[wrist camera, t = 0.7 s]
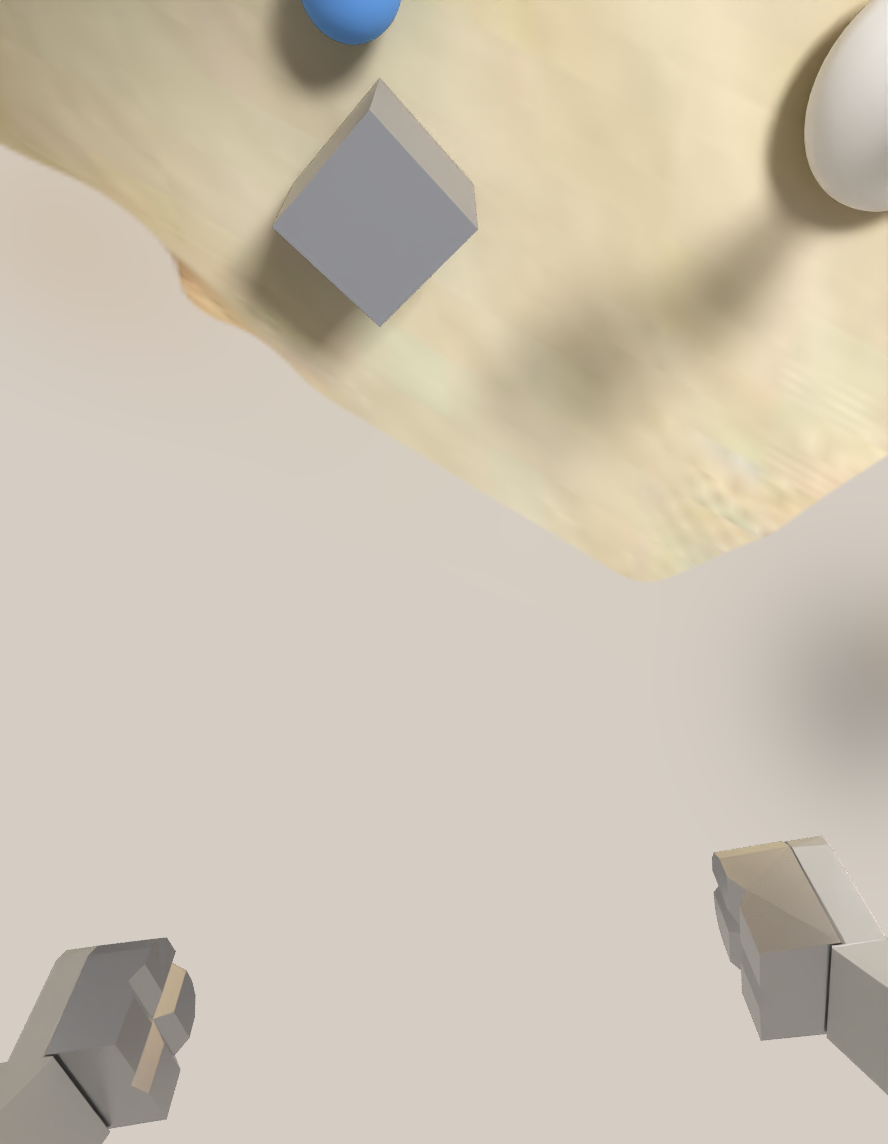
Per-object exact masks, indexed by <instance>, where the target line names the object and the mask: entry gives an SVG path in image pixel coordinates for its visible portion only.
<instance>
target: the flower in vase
mask: <svg viewBox="0 0 888 1144" xmlns="http://www.w3.org/2000/svg"><path fill="white" fill-rule="evenodd" d="M804 142H805V149H806V156H807V159H808V163H809V166H810V169H811V171H812V173H813V175H814V177H815V179H816V181H817V182H818V183H819V185H820V186H821V188H822V189H823V190H824V191H825V192H826V193H827V194H828V195H829V196H830V197H832V198H833V199H835V200H836V201H838V202H839V203H841V204H843V205H846V206H848V207H850V208H854V209H858V210H862V211H872V212H880V211H888V0H872V1H870V2H869V3H868V4H867V5H866V6H865V7H864V8H863V9H862V10H861V11H860V12H859V13H858V14H857V15H856V16H855V18H854V19H853V20H852V21H851V22H850V23H849V25H848V26H847V27H846V28H845V29H844V31H843V32H842V33H841V35H840V36H839V38H838V39H837V40H836V42H835V43H834V45H833V46H832V48H831V50H830V52H829V53H828V55H827V57H826V58H825V60H824V62H823V64H822V66H821V68H820V71H819V73H818V75H817V77H816V80H815V82H814V85H813V88H812V91H811V94H810V98H809V102H808V106H807V110H806V118H805V126H804Z"/></svg>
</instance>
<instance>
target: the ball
mask: <svg viewBox="0 0 888 1144" xmlns="http://www.w3.org/2000/svg"><path fill="white" fill-rule="evenodd" d="M301 1H302V4H303V6H304V8H305V10H306V12H307V14H308V16H309V17H310V19H311V20H312V22H313V23H314V24H315V26H316V27H317V28H318V29H319V30H320V31H321V32H323V33H324V34H325V35H326V36H328V37H330V38H331V39H333V40H335V41H338V42H340V43H344V44H351V45H356V44H363V43H367V42H369V41H372V40H373V39H375V38H377V37H378V36H380V35H381V34H382V33H383V32H384V31H385V30H386V29H387V28H388V27H389V26H390V24H391V23H392V21H393V20H394V18H395V16H396V14H397V11H398V8H399V6H400V2H401V0H301Z"/></svg>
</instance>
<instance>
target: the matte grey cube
mask: <svg viewBox="0 0 888 1144" xmlns="http://www.w3.org/2000/svg"><path fill="white" fill-rule="evenodd" d="M272 228H273V229H274V230H276V231H277V232H278V233H279V234H280V235H281V236H282V237H283V238H284V239H285V240H286V241H287V242H288V243H290V244H291V245H292V246H293V247H294V248H295V249H296V250H297V251H298V252H299V253H300V254H301V255H303V256H304V257H305V258H306V259H307V260H308V261H309V262H310V263H311V264H312V265H313V266H314V267H315V268H317V269H318V270H319V271H320V272H321V273H322V274H323V275H324V276H325V277H326V278H327V279H328V280H330V281H331V282H332V283H333V284H334V285H335V286H336V287H337V288H338V289H339V290H340V291H341V292H342V293H344V294H345V295H346V296H347V297H348V298H349V299H350V300H351V301H352V302H353V303H354V304H355V305H357V306H358V307H359V308H360V309H361V310H362V311H363V312H364V313H365V314H366V315H367V316H368V317H370V318H371V319H372V320H373V321H374V322H375V323H376V324H377V325H378V326H379V327H380V326H381V325H382V324H383V323H384V322H385V321H386V320H387V319H388V318H389V317H390V316H391V315H392V314H393V313H394V312H395V311H396V310H397V309H398V308H399V307H400V306H401V305H402V304H403V303H404V302H405V301H406V300H407V299H408V298H409V297H410V296H411V295H412V294H413V293H414V292H415V291H416V290H417V289H418V288H419V287H420V286H421V285H422V284H423V283H425V282H426V281H427V280H428V279H429V278H430V277H431V276H432V275H433V274H434V273H435V272H436V271H437V270H438V269H439V268H440V267H441V266H442V265H443V264H444V263H445V262H446V261H447V260H448V259H449V258H450V257H451V256H452V255H453V254H454V253H455V252H456V251H457V250H458V249H459V248H460V247H461V246H462V245H463V244H464V243H465V242H466V241H467V240H468V239H469V238H470V237H471V236H472V235H473V234H474V233H475V232H476V231H477V230H478V224H477V214H476V203H475V193H474V184H473V183H472V182H471V181H470V180H469V179H468V178H467V176H466V175H465V174H464V173H463V172H462V171H461V170H460V169H459V167H458V166H457V165H456V164H455V163H454V162H453V161H452V159H451V158H450V157H449V156H448V155H447V154H446V153H445V151H444V150H443V149H442V148H441V147H440V146H439V145H438V143H437V142H436V141H435V140H434V139H433V138H432V137H431V136H430V134H429V133H428V132H427V131H426V130H425V129H424V128H423V126H422V125H421V124H420V123H419V122H418V121H417V120H416V118H415V117H414V116H413V115H412V114H411V113H410V112H409V111H408V109H407V108H406V107H405V106H404V105H403V104H402V103H401V101H400V100H399V99H398V98H397V97H396V96H395V95H394V93H393V92H392V91H391V90H390V89H389V88H388V87H387V85H386V84H385V83H384V82H383V81H382V80H381V79H380V78H379V80H378V81H377V82H376V83H375V85H374V86H373V87H372V88H371V89H370V91H369V92H368V93H367V94H366V96H365V97H364V98H363V99H362V100H361V102H360V103H359V104H358V105H357V107H356V108H355V109H354V110H353V111H352V113H351V114H350V115H349V116H348V118H347V119H346V120H345V121H344V122H343V124H342V125H341V126H340V127H339V129H338V130H337V131H336V132H335V133H334V135H333V136H332V137H331V138H330V139H329V141H328V142H327V143H326V144H325V146H324V147H323V148H322V149H321V150H320V152H319V153H318V154H317V155H316V157H315V158H314V159H313V160H312V161H311V163H310V164H309V165H308V166H307V168H306V169H305V170H304V171H303V172H302V174H301V175H300V176H299V177H298V179H297V180H296V181H295V182H294V184H293V186H292V188H291V190H290V192H289V194H288V196H287V198H286V200H285V202H284V204H283V206H282V208H281V210H280V212H279V214H278V216H277V218H276V220H275V222H274V224H273V226H272Z"/></svg>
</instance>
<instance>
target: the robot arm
mask: <svg viewBox="0 0 888 1144" xmlns="http://www.w3.org/2000/svg"><path fill="white" fill-rule="evenodd" d="M712 869H713V873H714V875H715V878H716V880H717V883H718V888H717V889H716V890H715V891H714V900H715V910H716V915H717V920H718V925H719V929H720V933H721V936H722V939H723V942H724V945H725V948H726V951H727V953H728V956H729V959H730V961H731V962H732V963H733V964H734V965H735V966H737V967H738V968H739V969H740V970H741V974H742V993H743V996H744V998H745V1001H746V1003H747V1006H748V1009H749V1011H750V1014H751V1016H752V1019H753V1022H754V1024H755V1026H756V1029H757V1032H758V1034H759V1037H760V1039H761V1040H771V1039H782V1038H791V1037H801V1036H810V1035H820V1034H827V1038H828V1039H829V1040H830V1041H831V1042H832V1043H833V1044H834V1045H835V1046H836V1047H837V1048H838V1049H839V1050H840V1051H842V1052H843V1053H844V1054H845V1055H846V1056H847V1057H848V1058H849V1059H850V1060H851V1061H852V1062H853V1063H854V1064H855V1065H857V1066H858V1067H859V1068H860V1069H861V1070H862V1071H863V1072H864V1073H865V1074H866V1075H867V1076H868V1077H870V1079H871V1080H873V1081H874V1082H875V1083H876V1084H877V1085H878V1086H879V1087H880V1088H881V1089H882V1090H883V1091H884V1092H886V1093H887V1095H888V938H886V936H885V935H884V933H883V931H882V929H881V928H880V926H879V924H878V923H877V921H876V919H875V918H874V916H873V914H872V913H871V911H870V910H869V908H868V907H867V904H866V903H865V901H864V900H863V898H862V896H861V895H860V893H859V891H858V890H857V888H856V886H855V885H854V883H853V881H852V880H851V878H850V876H849V875H848V873H847V871H846V870H845V868H844V866H843V865H842V863H841V861H840V860H839V858H838V856H837V855H836V853H835V852H834V850H833V848H832V846H831V845H830V843H829V841H827V840H826V839H825V838H823V837H822V836H818V837H811V838H804V839H798V840H791V841H786V842H782V841H779V842H773V843H768V844H761V845H755V846H749V847H743V848H737V849H732V850H726V851H719V852H714V853H713V857H712ZM175 952H176V951H175V950H174V948H173V947H172V945H171V943H170V942H169V940H168V939H167V938H158V939H150V940H141V941H133V942H125V943H117V944H109V945H101V946H93V947H87V948H79V949H72V950H66V951H65V952H64V953H63V954H62V955H61V956H60V957H59V958H58V959H57V961H56V962H55V964H54V966H53V968H52V970H51V972H50V974H49V977H48V979H47V981H46V983H45V985H44V987H43V989H42V991H41V993H40V995H39V997H38V999H37V1002H36V1004H35V1006H34V1008H33V1010H32V1012H31V1014H30V1016H29V1018H28V1020H27V1022H26V1024H25V1026H24V1029H23V1031H22V1033H21V1035H20V1037H19V1039H18V1041H17V1043H16V1045H15V1047H14V1049H13V1052H12V1054H11V1056H10V1058H9V1060H8V1062H4V1063H0V1144H102V1143H103V1141H104V1140H105V1139H106V1137H107V1136H108V1134H109V1133H110V1131H109V1129H110V1128H116V1127H122V1126H128V1125H134V1124H140V1123H146V1122H153V1121H159V1120H164V1119H167V1115H168V1112H169V1108H170V1105H171V1101H172V1098H173V1094H174V1091H175V1087H176V1084H177V1080H178V1077H179V1073H180V1067H179V1065H178V1063H177V1060H176V1057H175V1054H176V1053H177V1052H178V1051H179V1049H180V1048H181V1047H182V1046H183V1045H184V1043H185V1042H186V1041H187V1040H188V1039H189V1037H190V1033H191V1030H192V1026H193V1022H194V1018H195V992H194V987H193V983H192V980H191V978H190V976H189V974H188V973H187V971H186V970H185V969H183V968H181V967H179V966H177V965H176V964H174V963H172V961H173V958H174V955H175Z"/></svg>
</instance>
